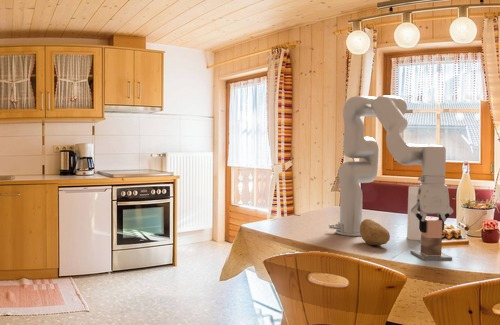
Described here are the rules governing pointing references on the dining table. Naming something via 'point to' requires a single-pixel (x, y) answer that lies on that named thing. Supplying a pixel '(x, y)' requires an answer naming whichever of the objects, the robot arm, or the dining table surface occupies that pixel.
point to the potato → (373, 233)
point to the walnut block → (431, 245)
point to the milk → (413, 221)
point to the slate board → (430, 256)
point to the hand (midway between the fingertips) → (431, 231)
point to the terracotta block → (433, 228)
